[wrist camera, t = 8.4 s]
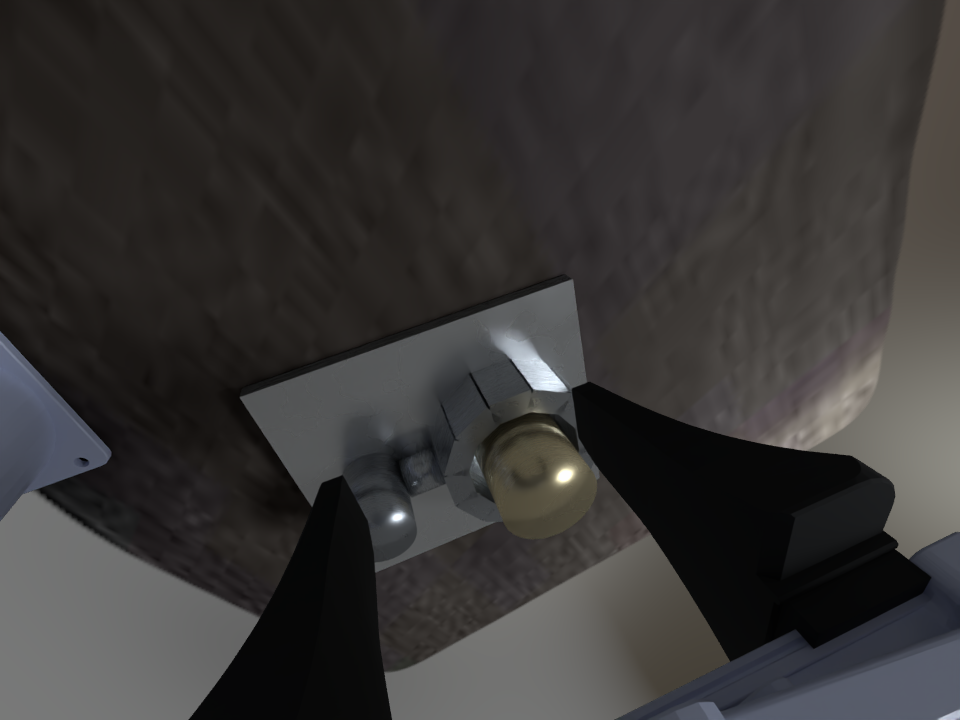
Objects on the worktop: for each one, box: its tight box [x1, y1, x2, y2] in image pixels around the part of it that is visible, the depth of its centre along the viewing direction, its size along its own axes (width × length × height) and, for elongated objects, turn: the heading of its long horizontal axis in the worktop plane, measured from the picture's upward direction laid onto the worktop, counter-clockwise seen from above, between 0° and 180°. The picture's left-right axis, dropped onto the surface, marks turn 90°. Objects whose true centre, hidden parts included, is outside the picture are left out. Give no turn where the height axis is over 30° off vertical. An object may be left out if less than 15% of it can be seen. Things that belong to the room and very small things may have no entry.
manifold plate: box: [240, 274, 600, 573], centre depth 23 cm, size 16×14×5 cm
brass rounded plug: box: [475, 412, 597, 539], centre depth 22 cm, size 4×4×6 cm
